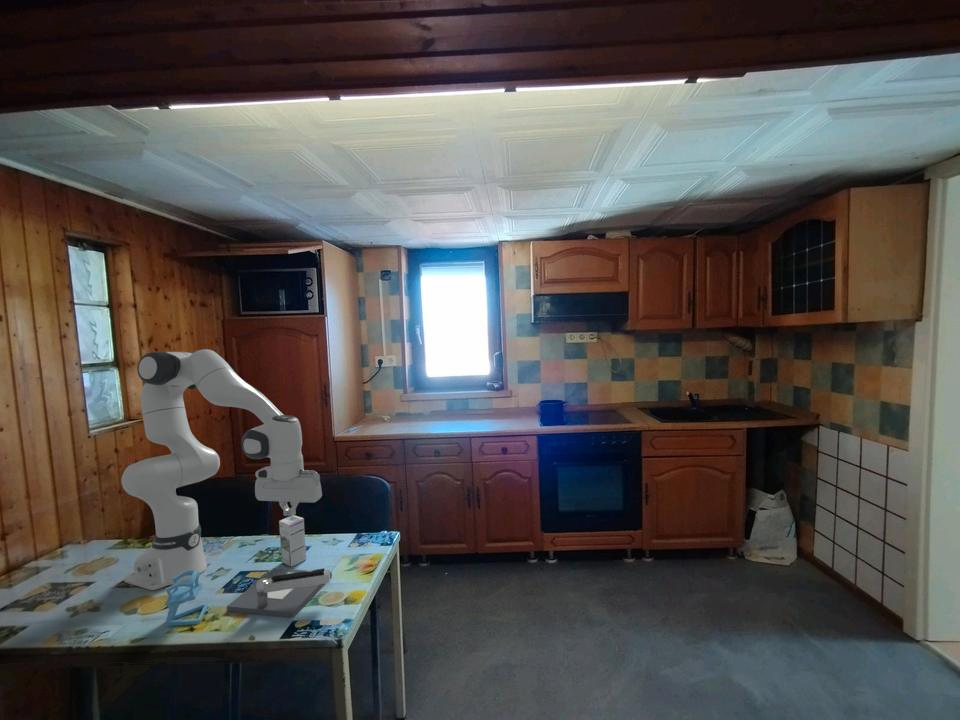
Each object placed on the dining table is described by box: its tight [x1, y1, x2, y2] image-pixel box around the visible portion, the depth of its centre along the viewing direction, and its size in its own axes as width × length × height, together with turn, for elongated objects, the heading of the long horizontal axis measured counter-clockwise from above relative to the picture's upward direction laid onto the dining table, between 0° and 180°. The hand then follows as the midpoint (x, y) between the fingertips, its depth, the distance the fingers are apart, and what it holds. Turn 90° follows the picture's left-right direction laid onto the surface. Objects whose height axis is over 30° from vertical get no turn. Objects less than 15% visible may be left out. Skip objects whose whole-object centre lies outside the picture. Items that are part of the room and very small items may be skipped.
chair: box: [164, 571, 208, 627], centre depth 107 cm, size 8×8×12 cm
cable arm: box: [255, 568, 331, 595], centre depth 111 cm, size 3×19×4 cm, turn 103°
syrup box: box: [278, 514, 307, 568], centre depth 135 cm, size 6×6×14 cm
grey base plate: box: [226, 567, 333, 619], centre depth 117 cm, size 20×19×5 cm
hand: (289, 515), depth 121 cm, fingers closed
